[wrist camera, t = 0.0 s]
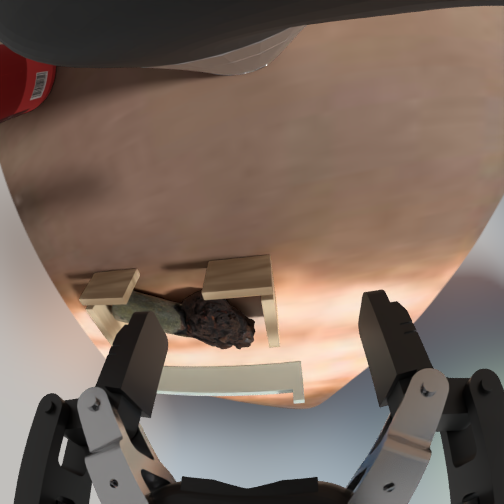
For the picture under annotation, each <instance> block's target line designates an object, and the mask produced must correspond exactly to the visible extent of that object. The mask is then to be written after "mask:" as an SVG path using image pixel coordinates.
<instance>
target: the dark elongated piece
mask: <svg viewBox="0 0 504 504" xmlns="http://www.w3.org/2000/svg"><path fill="white" fill-rule="evenodd" d="M143 311H152V312H154V313H155V315H156V317H157V319H158V321H159V323H160V325H161V327H162V328H163V330H164V332H165V333H170V334H175V335H178V336H184V337H192V338H196V339H198V340H200V341H202V342H204V343H206V344H208V345H211V346H216V347H217V348H218V347H219V348H221V349H227V348H230V347H232V346H233V345H234V346H236V348H238V349H241V348H242V347H249V346H250V345H251V344H250V343H251V342H253V341H254V338H253V336H254V333H255V329H254V323H255V321H254V320H252V319H249V318H248V317H247V316H245V315H244V314H243V313H242V312H240V311H238V309H236V308H234V307H232V306H231V305H229V303H228V301H226V299H213V300H204V298H203V295H202V291H199V292H197V293H195V294H193V295H191V296H189V297H187V298H186V299H185V300H184V301H183V302H182V304H180V303H176V302H172V301H168V300H165V299H161V298H158V297H154V296H150V295H146V294H143V293H139V292H136V291H132V293H131V295H130V298H129V300H128V302H127V304H120V305H112V314H113V316H114V318H115V319H116V320H117V321H121V322H124V323H129V321H130V319H131V317H132V314H133V313H134V312H143Z"/></svg>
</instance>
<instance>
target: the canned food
mask: <svg viewBox="0 0 504 504" xmlns="http://www.w3.org/2000/svg"><path fill="white" fill-rule="evenodd" d="M55 73H56V66H55V65H50V64H45V63H40V62H36V61H33V60H30V59H27V58H25V57H23V56H21V55H19V54H17V53H15V52H13V51H12V50H10V49H9V48H8V47H6V46H5V45H4V44H1V45H0V123H1V122H4V121H6V120H8V119H11V118H13V117H16V116H18V115H21V114H24V113H27V112H29V111H32V110H34V109H35V108H36V107H38V106H39V105H40V104H41V103H42V102H43V101H44V100H45V99H46V98H47V96H48V94H49V93H50V91H51V88H52V86H53V83H54V79H55Z"/></svg>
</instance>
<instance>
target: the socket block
mask: <svg viewBox="0 0 504 504" xmlns="http://www.w3.org/2000/svg"><path fill="white" fill-rule="evenodd" d="M139 276H140V274H139V271H138V269H137V268H136V269H126V270H116V271H106V272H96V273H94V275H93V277H92V278H91V280H90V281H89V283H88V285H87V286H86V288H85V290H84V291H83V293H82V295H81V296H80V298H79V300H80V302H81V303H82V305H88V306H87V308H86V311H87V312H88V314H89V315H90V317H91V318H92V320H93V321H94V323H95V324H96V325H97V327H98V328H99V330H100V331H101V332H102V334H103V335H104V336H105V338H106V339H107V340H108V342H109V343H110V344H111V346H113V345H112V344H113V341H114V339H115V337H116V334H117V333H118V332H119V331H120V330H121V328H122V327H123V326H124V325H128V323H124V322H121V321H117V320H116V319H115V318H114V316H113V314H112V305H120V304H127V302H128V300H129V298H130V295H131V293H132V291H133V289H134V287H135V285H136V282H137V280H138V278H139ZM202 295H203V298H204V300H213V299H226V298H238V297H250V296H261V302H262V308H263V314H264V319H265V325H266V331H267V336H268V342H269V348H271V347H280V343H279V327H278V313H277V305H276V297H275V289H274V281H273V273H272V267H271V257H270V255H261V256H252V257H243V258H233V259H224V260H214V261H209V262H208V266H207V271H206V275H205V280H204V284H203V289H202Z"/></svg>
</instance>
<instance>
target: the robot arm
mask: <svg viewBox="0 0 504 504" xmlns="http://www.w3.org/2000/svg"><path fill="white" fill-rule="evenodd" d="M468 6H504V0H0V41H1V42H2V43H3V44H4V45H5V46H6V47H8V48H9V49H10V50H12V51H13V52H15V53H17V54H19V55H21V56H23V57H25V58H27V59H30V60H33V61H36V62H40V63H45V64H50V65H55V66H64V67H74V68H121V67H131V68H132V67H142V68H163V69H179V70H190V71H199V72H207V73H212V74H217V75H241V74H246V73H249V72H253V71H256V70H258V69H260V68H263V67H264V66H266V65H268V64H269V63H270V62H272V61H273V60H274V59H275V58H276V57H277V56H278V55H279V54H280V53H281V52H282V51H283V50H284V49H285V48H286V47H287V46H288V45H289V43H290V42H291V41H292V40H293V39H294V38H295V37H296V36H297V35H298V34H299V33H300V32H301V31H302V30H303V28H304V27H305V26H306V25H309V24H317V23H324V22H332V21H340V20H348V19H357V18H367V17H375V16H384V15H393V14H401V13H409V12H418V11H426V10H433V9H442V8H454V7H468ZM358 326H359V334H360V338H361V341H362V344H363V348H364V351H365V354H366V358H367V361H368V365H369V368H370V372H371V375H372V380H373V383H374V387H375V391H376V395H377V399H378V403H379V407H383V406H387V405H388V406H389V409H390V414H389V416H388V418H387V420H386V423H385V425H384V426H383V428H382V430H381V432H380V434H379V436H378V438H377V440H376V441H375V443H374V445H373V447H372V448H371V450H370V452H369V454H368V455H367V457H366V458H365V460H364V461H363V463H362V464H361V465H360V467H359V468H358V470H357V471H356V473H355V474H354V476H353V477H352V479H351V481H350V482H349V483H348V485H347V486H346V488H344V487H341V486H339V485H336V484H333V483H328V482H323V481H318V478H317V477H313V478H304V479H293V480H282V481H278V482H275V483H271V484H267V485H262V486H258V487H254V488H249V489H248V488H247V489H246V488H241V487H237V486H234V485H230V484H226V483H223V482H219V481H216V480H212V479H211V480H210V479H201V478H191V477H184V476H183V477H182V481H180V482H176V481H175V479H174V477H173V476H172V475H171V474H170V472H169V471H168V470H167V469H166V468H165V467H164V466H163V464H162V463H161V462H160V461H159V459H158V457H157V455H156V454H155V452H154V450H153V448H152V446H151V444H150V442H149V440H148V438H147V436H146V434H145V432H144V430H143V428H142V426H141V425H140V423H139V421H140V417H148V418H151V414H152V409H153V406H154V401H155V397H156V393H157V389H158V385H159V381H160V377H161V373H162V369H163V366H164V362H165V358H166V354H167V351H168V339H167V336H166V334H165V332H164V330H163V328H162V327H161V325H160V323H159V321H158V319H157V317H156V315H155V313H154V312H152V311H143V312H134V313H133V314H132V317H131V319H130V321H129V323H128V325H124V326H123V327H122V328H121V330H120V331H119V332H118V333H117V334H116V337H115V339H114V341H113V344H112V345H113V346H111V348H110V351H109V355H108V356H107V358H106V361H105V363H104V366H103V368H102V371H101V374H100V376H99V378H98V381H97V384H96V386H95V387H92V388H89V389H87V390H85V391H84V392H83V393H82V394H81V396H80V397H79V398H78V399H72V400H65V401H64V400H62V399H61V398H60V397H59V396H58V395H56V394H54V393H51V394H47V395H46V396H44V397H43V398H42V400H41V401H40V403H39V405H38V408H37V411H36V414H35V417H34V420H33V423H32V426H31V429H30V432H29V436H28V439H27V443H26V447H25V450H24V454H23V458H22V462H21V467H20V471H19V476H18V481H17V487H16V493H15V498H14V504H89V499H90V492H91V485H92V483H93V485H94V488H95V490H96V492H97V495H98V497H99V499H100V502H101V504H408V502H409V501H410V499H411V497H412V495H413V493H414V491H415V490H416V488H417V486H418V484H419V482H420V480H421V478H422V475H423V474H424V471H425V469H426V467H427V465H428V463H429V460H430V457H431V450H430V445H431V442H432V439H433V436H434V434H435V432H439V431H440V434H441V439H442V444H443V449H444V454H445V460H446V466H447V473H448V480H449V489H450V499H451V504H504V390H503V387H502V385H501V382H500V380H499V378H498V376H497V375H496V374H495V373H494V372H493V371H491V370H489V369H480V370H478V371H476V372H475V373H474V374H473V375H472V377H471V378H448V377H445V375H444V374H443V373H442V372H440V371H439V370H436V369H434V368H433V366H432V364H431V363H430V360H429V358H428V355H427V353H426V351H425V348H424V346H423V344H422V342H421V339H420V337H419V335H418V333H417V332H416V328H415V326H414V324H413V323H412V320H411V318H410V316H409V314H408V312H407V310H406V309H405V308H404V307H403V306H402V305H401V304H400V303H398V302H397V301H396V302H390V301H389V299H388V297H387V295H386V293H385V291H384V290H377V291H370V292H364V293H363V296H362V303H361V309H360V315H359V322H358ZM63 436H64V437H66V438H67V439H68V442H67V446H66V450H65V455H64V459H63V464H62V466H60V465H59V462H58V456H59V452H60V448H61V444H62V440H63Z"/></svg>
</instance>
